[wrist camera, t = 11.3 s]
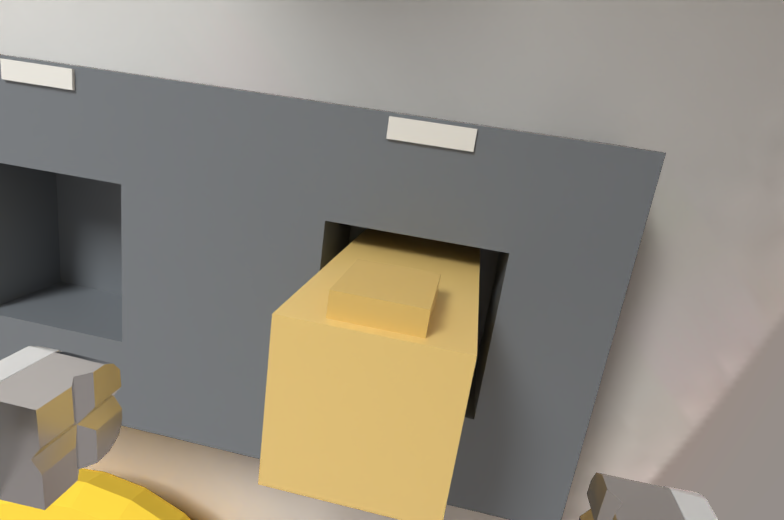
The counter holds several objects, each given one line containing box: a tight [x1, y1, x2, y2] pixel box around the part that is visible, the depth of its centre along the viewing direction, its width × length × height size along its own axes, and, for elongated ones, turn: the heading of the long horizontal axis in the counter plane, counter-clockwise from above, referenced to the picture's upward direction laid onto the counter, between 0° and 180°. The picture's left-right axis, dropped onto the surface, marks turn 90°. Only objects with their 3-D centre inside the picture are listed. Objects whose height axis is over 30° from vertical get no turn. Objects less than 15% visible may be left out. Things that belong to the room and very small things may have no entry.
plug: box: [258, 228, 480, 520], centre depth 14 cm, size 5×4×9 cm
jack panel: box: [0, 54, 666, 520], centre depth 18 cm, size 12×24×4 cm, turn 82°
